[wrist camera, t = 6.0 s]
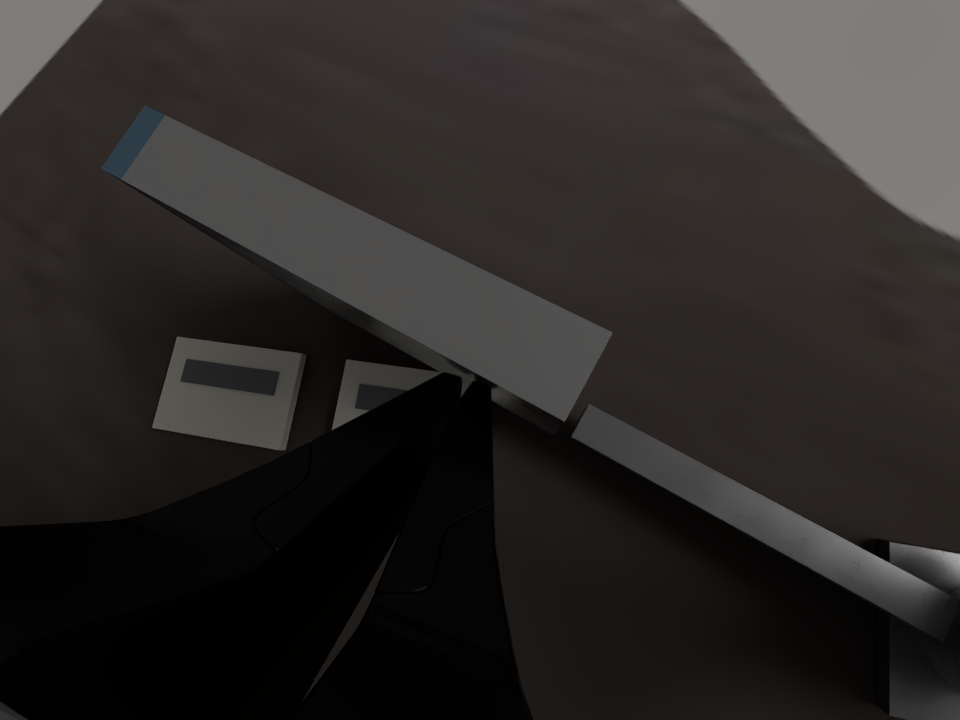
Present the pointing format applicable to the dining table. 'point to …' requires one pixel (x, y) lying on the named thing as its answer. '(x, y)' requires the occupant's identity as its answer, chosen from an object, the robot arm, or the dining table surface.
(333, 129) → the dining table surface
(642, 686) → the dining table surface
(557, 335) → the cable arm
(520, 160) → the dining table surface
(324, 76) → the dining table surface
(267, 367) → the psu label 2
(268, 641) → the robot arm
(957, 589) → the post
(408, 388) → the psu label
